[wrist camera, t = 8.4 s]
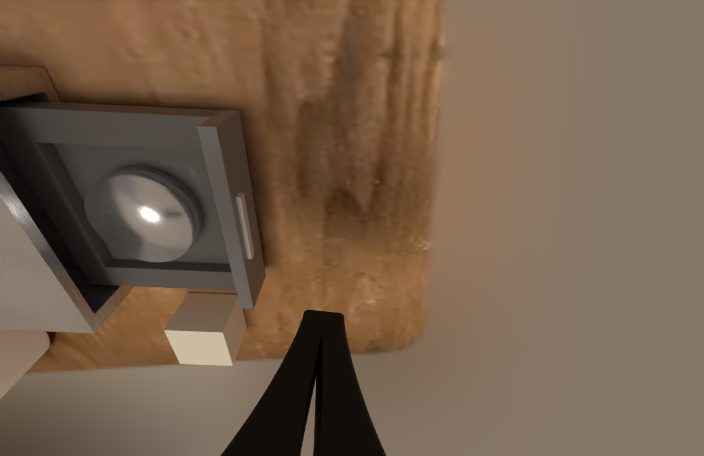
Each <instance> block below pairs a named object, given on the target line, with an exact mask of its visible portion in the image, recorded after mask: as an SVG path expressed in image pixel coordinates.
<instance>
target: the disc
mask: <svg viewBox="0 0 704 456" xmlns="http://www.w3.org/2000/svg"><path fill="white" fill-rule="evenodd" d="M84 208H85V213H86V216H87V218H88V221H89V223H90V224H91V226H92V227H93V229H94V230H95V231H96V233H97V234H98V235H99V236H100V237H101V238H102V239H103V240H104V241H105V242H107V243H108V244H109V245H111V246H112V247H113V248H115V249H117V250H118V251H120V252H122V253H124V254H126V255H128V256H130V257H133V258H136V259H139V260H143V261H149V262H168V261H172V260H174V259H177V258H179V257H181V256H182V255H183V254H184V253H185V252H186V251H187V250H188V249H189V247H190V246H191V245H192V243H193V242H194V241H195V239H196V238H197V237H198V235H199V234H200V232H201V230H202V228H203V223H204V217H203V211H202V208H201V206H200V204H199V202H198V200H197V198H196V197H195V195H194V194H193V193H192V192H191V190H190V189H189V188H188V187H187V186H186V185H184V184H183V183H182V182H181V181H180V180H178V179H177V178H175V177H174V176H172V175H170V174H168V173H166V172H164V171H162V170H159V169H156V168H153V167H148V166H140V165H137V166H127V167H124V168H121V169H119V170H117V171H115V172H114V173H112V174H110V175H109V176H107V177H105V178H104V179H102V180H100V181H99V182H97V183H95V184H94V185H93V186H92V187H91V188H90V189H89V190H88V192H87V194H86V196H85V200H84Z"/></svg>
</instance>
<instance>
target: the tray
mask: <svg viewBox="0 0 704 456" xmlns="http://www.w3.org/2000/svg"><path fill="white" fill-rule="evenodd" d="M0 137H1V139H2V140H3V142H4V144H5V145H6V147H7V148H8V150H9V152H10V153H11V155H12V157H13V158H14V160H15V162H16V163H17V165H18V166H19V168H20V170H21V171H22V173H23V175H24V176H25V178H26V180H27V181H28V183H29V184H30V186H31V188H32V189H33V191H34V193H35V194H36V196H37V198H38V199H39V201H40V202H41V204H42V206H43V207H44V209H45V211H46V212H47V214H48V216H49V217H50V219H51V220H52V222H53V224H54V225H55V227H56V229H57V230H58V232H59V233H60V235H61V237H62V238H63V240H64V242H65V243H66V245H67V247H68V248H69V250H70V251H71V253H72V255H73V256H74V258H75V260H76V261H77V263H78V265H79V266H80V268H81V269H82V271H83V273H84V274H85V276H86V278H87V279H88V281H89V283H90V284H94V285H118V286H143V287H167V288H191V289H215V290H236V291H237V295H238V299H239V304H240V308H244V309H254V306H255V303H256V301H257V298H258V295H259V292H260V290H261V287H262V284H263V282H264V279H265V276H266V275H265V269H264V262H263V256H262V250H261V243H260V237H259V231H258V224H257V218H256V212H255V205H254V199H253V193H252V186H251V180H250V174H249V168H248V161H247V155H246V149H245V142H244V136H243V130H242V123H241V117H240V111H239V110H209V109H188V108H168V107H148V106H127V105H107V104H87V103H66V102H46V101H26V100H8V101H3V102H0ZM137 165H140V166H148V167H153V168H156V169H159V170H162V171H164V172H166V173H168V174H170V175H172V176H174V177H175V178H177V179H178V180H180V181H181V182H182V183H183V184H184V185H186V186H187V187H188V188H189V189H190V190H191V192H192V193H193V194H194V195H195V197H196V198H197V200H198V202H199V204H200V206H201V208H202V211H203V217H204V223H203V228H202V230H201V232H200V234H199V235H198V237H197V238H196V239H195V241H194V242H193V243H192V245H191V246H190V247H189V249H188V250H187V251H186V252H185V253H184V254H183V255H182V256H181V257H179V258H177V259H174V260H172V261H168V262H149V261H143V260H139V259H136V258H133V257H130V256H128V255H126V254H124V253H122V252H120V251H118V250H117V249H115V248H113V247H112V246H111V245H109V244H108V243H107V242H105V241H104V240H103V239H102V238H101V237H100V236H99V235H98V234H97V233H96V231H95V230H94V229H93V227H92V226H91V224H90V223H89V221H88V218H87V216H86V213H85V208H84V200H85V196H86V194H87V192H88V190H89V189H90V188H91V187H92V186H93V185H94V184H95V183H97V182H99V181H100V180H102V179H104V178H105V177H107V176H109V175H110V174H112V173H114V172H115V171H117V170H119V169H121V168H124V167H127V166H137Z"/></svg>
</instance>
